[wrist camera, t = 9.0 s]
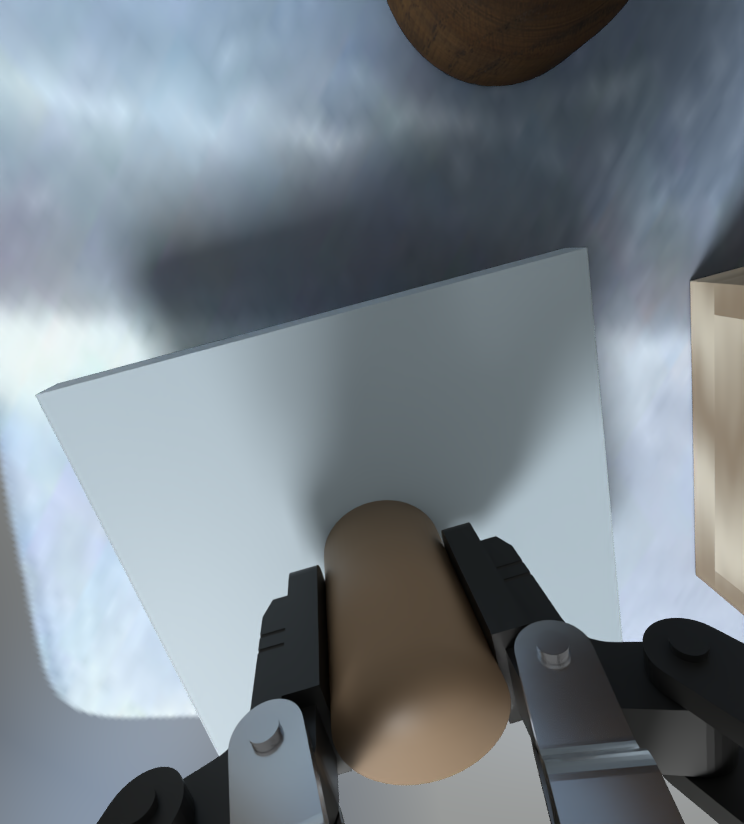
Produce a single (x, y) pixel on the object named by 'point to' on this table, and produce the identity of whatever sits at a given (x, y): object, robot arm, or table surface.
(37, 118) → the table surface
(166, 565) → the lid
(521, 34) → the mortar and pestle
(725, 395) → the box
